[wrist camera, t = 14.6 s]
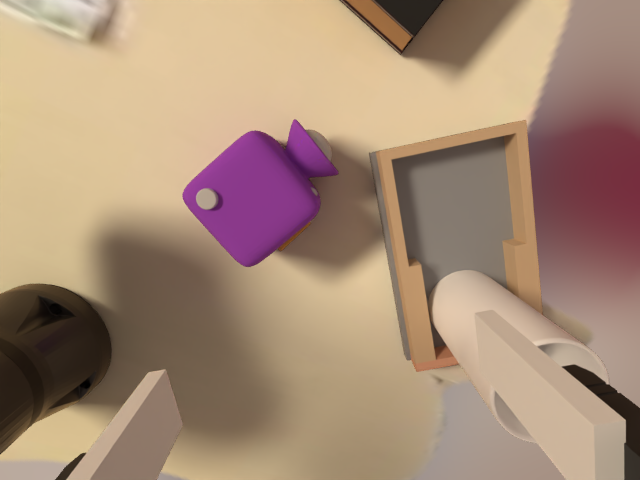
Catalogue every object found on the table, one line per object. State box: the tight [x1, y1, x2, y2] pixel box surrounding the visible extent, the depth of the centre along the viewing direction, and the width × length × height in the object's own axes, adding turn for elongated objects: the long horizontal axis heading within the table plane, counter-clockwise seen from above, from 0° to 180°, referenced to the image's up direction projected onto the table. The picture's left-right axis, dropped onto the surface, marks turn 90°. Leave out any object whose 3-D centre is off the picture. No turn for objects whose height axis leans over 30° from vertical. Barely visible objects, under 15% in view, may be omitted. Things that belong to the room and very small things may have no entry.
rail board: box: [369, 120, 543, 372], centre depth 40 cm, size 15×24×4 cm, turn 12°
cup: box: [428, 270, 610, 443], centre depth 34 cm, size 8×8×16 cm
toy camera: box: [183, 119, 338, 267], centre depth 35 cm, size 11×14×10 cm
